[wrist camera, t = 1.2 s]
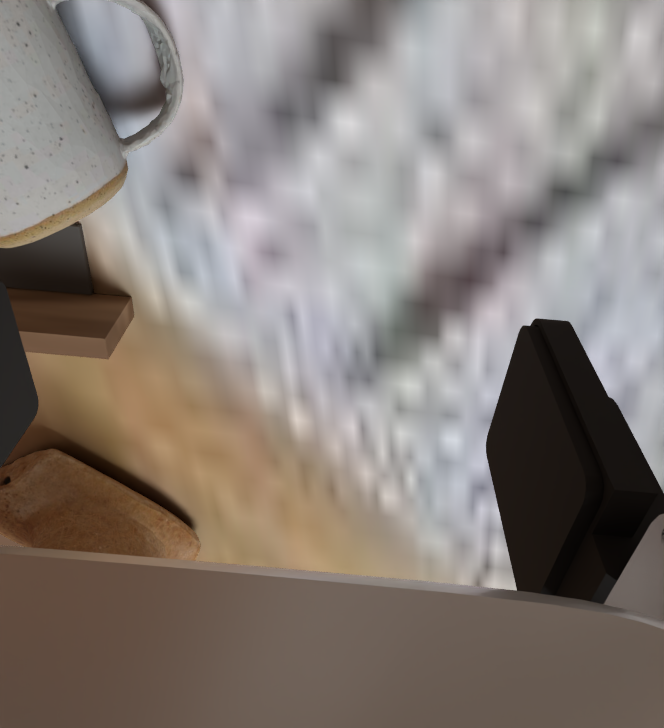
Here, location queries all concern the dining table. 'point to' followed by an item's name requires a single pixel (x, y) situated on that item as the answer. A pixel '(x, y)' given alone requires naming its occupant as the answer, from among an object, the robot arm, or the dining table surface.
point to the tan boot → (85, 511)
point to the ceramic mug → (63, 122)
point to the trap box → (61, 298)
